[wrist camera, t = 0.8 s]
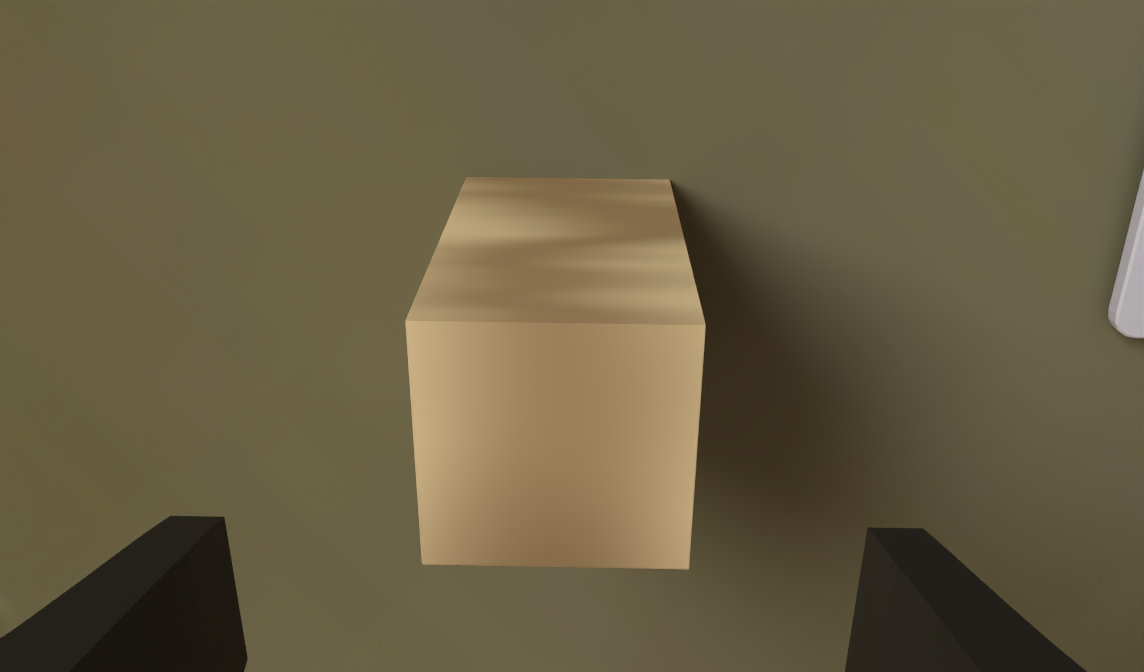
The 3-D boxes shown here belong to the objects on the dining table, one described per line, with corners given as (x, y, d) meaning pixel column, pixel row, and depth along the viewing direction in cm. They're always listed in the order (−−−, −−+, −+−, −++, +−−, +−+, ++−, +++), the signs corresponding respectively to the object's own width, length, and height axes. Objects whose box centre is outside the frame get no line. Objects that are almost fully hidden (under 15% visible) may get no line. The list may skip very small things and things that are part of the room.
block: (669, 179, 20) (705, 325, 13) (660, 362, 21) (688, 569, 15) (465, 177, 20) (405, 320, 13) (473, 359, 21) (422, 563, 15)
